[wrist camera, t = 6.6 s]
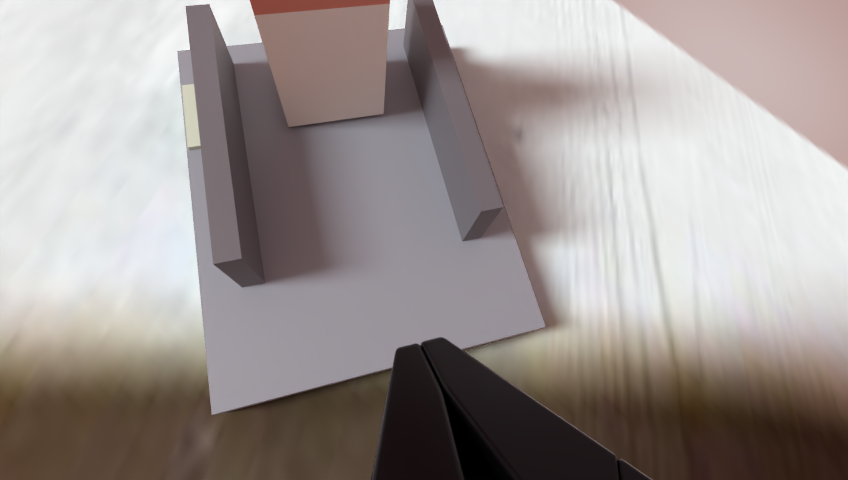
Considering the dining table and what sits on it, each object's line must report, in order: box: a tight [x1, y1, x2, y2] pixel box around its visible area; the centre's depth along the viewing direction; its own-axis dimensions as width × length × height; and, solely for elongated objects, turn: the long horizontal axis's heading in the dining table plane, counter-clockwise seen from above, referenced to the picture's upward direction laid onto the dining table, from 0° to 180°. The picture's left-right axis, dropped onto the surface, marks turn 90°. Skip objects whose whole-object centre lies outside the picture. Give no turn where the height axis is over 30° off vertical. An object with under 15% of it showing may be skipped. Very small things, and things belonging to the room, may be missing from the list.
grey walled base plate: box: [178, 0, 546, 415], centre depth 16 cm, size 15×12×4 cm
